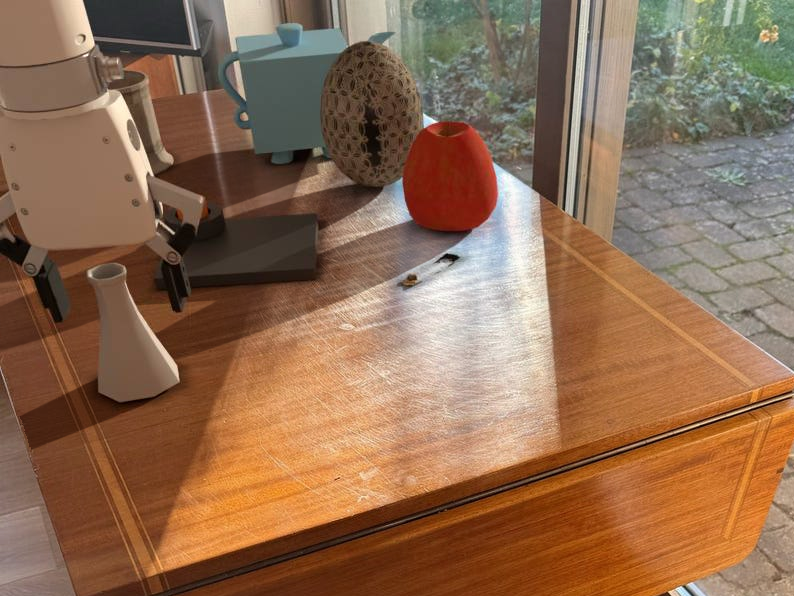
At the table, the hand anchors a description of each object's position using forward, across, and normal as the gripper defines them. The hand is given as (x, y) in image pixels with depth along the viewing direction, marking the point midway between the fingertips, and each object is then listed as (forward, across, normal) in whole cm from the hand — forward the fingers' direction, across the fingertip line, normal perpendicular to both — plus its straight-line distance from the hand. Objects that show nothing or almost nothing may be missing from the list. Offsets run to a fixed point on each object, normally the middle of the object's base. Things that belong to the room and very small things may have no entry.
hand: (121, 310), depth 81 cm
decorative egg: (+7, -21, -43) cm, 48 cm away
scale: (+7, -6, -25) cm, 27 cm away
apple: (+7, -29, -30) cm, 42 cm away
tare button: (+4, -2, -30) cm, 30 cm away
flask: (+7, 0, 0) cm, 7 cm away
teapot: (+7, -14, -57) cm, 59 cm away
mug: (+6, +11, -56) cm, 58 cm away
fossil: (+8, -26, -18) cm, 33 cm away
